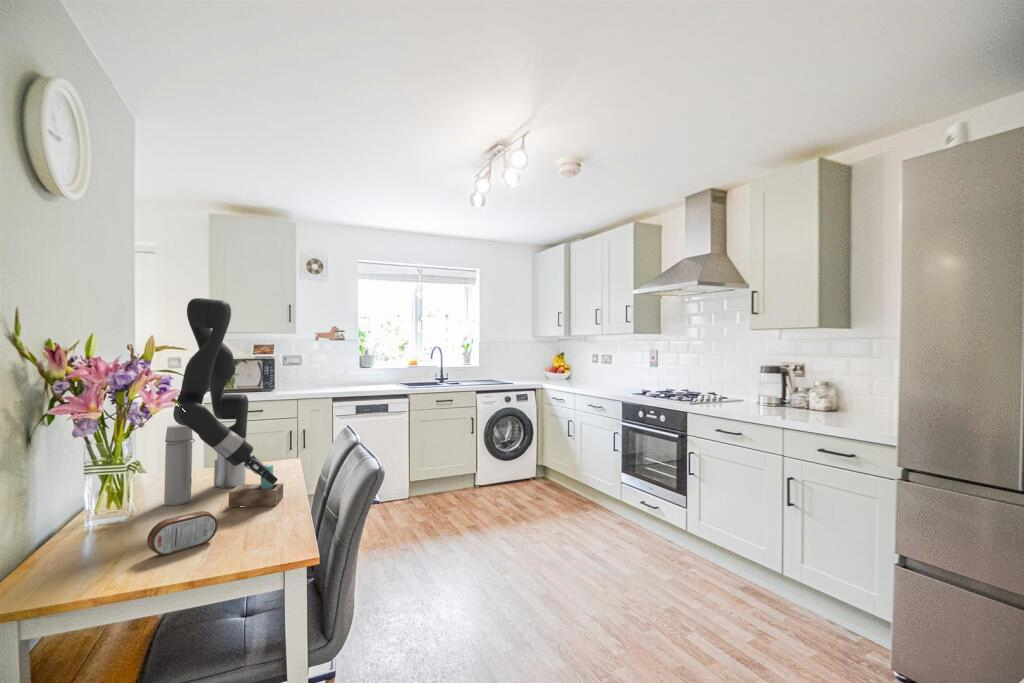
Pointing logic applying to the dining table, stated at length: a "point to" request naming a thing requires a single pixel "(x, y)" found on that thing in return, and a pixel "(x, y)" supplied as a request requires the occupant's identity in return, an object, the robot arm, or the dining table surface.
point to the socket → (255, 495)
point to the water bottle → (178, 465)
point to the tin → (182, 532)
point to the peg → (264, 483)
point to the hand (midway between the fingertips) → (273, 479)
